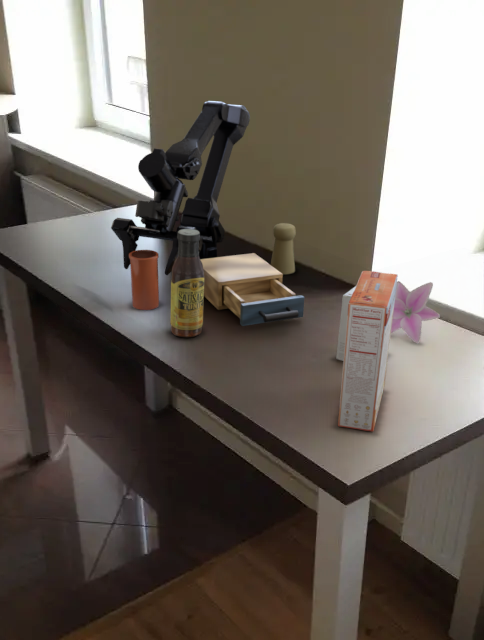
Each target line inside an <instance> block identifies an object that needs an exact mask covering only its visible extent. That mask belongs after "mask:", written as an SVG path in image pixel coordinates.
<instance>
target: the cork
mask: <svg viewBox="0 0 484 640" xmlns="http://www.w3.org/2000/svg"><path fill="white" fill-rule="evenodd" d="M272 233H273V237H274V244H273V250H272V255H271V260H270V265H271V266H272V267H274V268H275V269H277V270H278V271H279V272H281V273H282V274H283V275H291V274H294V273H295V272H296V265H295V252H294V239H295V236H296V233H297V231H296V227H295V225H293V224H291V223H289V222H280V223H277V224H275V225H274V227H273V230H272Z"/></svg>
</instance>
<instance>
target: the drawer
mask: <svg viewBox="0 0 484 640" xmlns="http://www.w3.org/2000/svg"><path fill="white" fill-rule="evenodd" d="M222 302H223V303H224V304H225V305H226V306H227V307H228V310H230V311H231V312H232V313H233V314H234V315H235V316H236V317H237V318H238V319H239V325H241V327H246V326H252V325H259V324H265V323H272V322H279V321H285V320H292V319H297V318H303V317H304V312H305V311H304V309H305V296H304V295H302V294H300V295H296V293H295V292H294V291H292V290H291V289H290V288H288V287H287V286H286V285H284V284H283V282H282V283H280V282H279V281H278V280H276V279H267V280H259V281H252V282H244V283H236V284H229V285H222Z"/></svg>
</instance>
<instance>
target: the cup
mask: <svg viewBox="0 0 484 640" xmlns="http://www.w3.org/2000/svg"><path fill="white" fill-rule="evenodd" d="M159 257H160V256H159V253H158V252H157V251H155V250H151V249H136V251H133V252H131V253H129V259H130V265H129V267H130V268H129V269H130V285H131V288H130V289H131V303H132V304H131V305H132V308H134V309H136V310H141V311H151V310H154V309H157V308H159V307H160V288H159V287H160V286H159Z"/></svg>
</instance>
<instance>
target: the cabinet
mask: <svg viewBox="0 0 484 640" xmlns="http://www.w3.org/2000/svg"><path fill="white" fill-rule="evenodd" d="M200 260H201V262H202V264H203V272H204V298H205V299H206V300H208V302H210V304H211V305H212V306H214V308H216V310H217V311H222V310H229V308H228V307H227V306H226V305H225V304H224V303H223V302H222V285H229V284H236V283H244V282H252V281H259V280H267V279H276V280H278V281H279V282H280V283H282V284H283V278H284V277H283V276H284V274H282V273H281V272H279V271H278V270H277V269H275V268H274V267H272V266H271V263H269V262H267V261H266V260H265V259H263V258H262V257H260V256H259V255H257V254H256V253H255V252H252V253H244V254H236V255H235V254H233V255H225V256H217V257H216V258H208V259H200Z"/></svg>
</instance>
